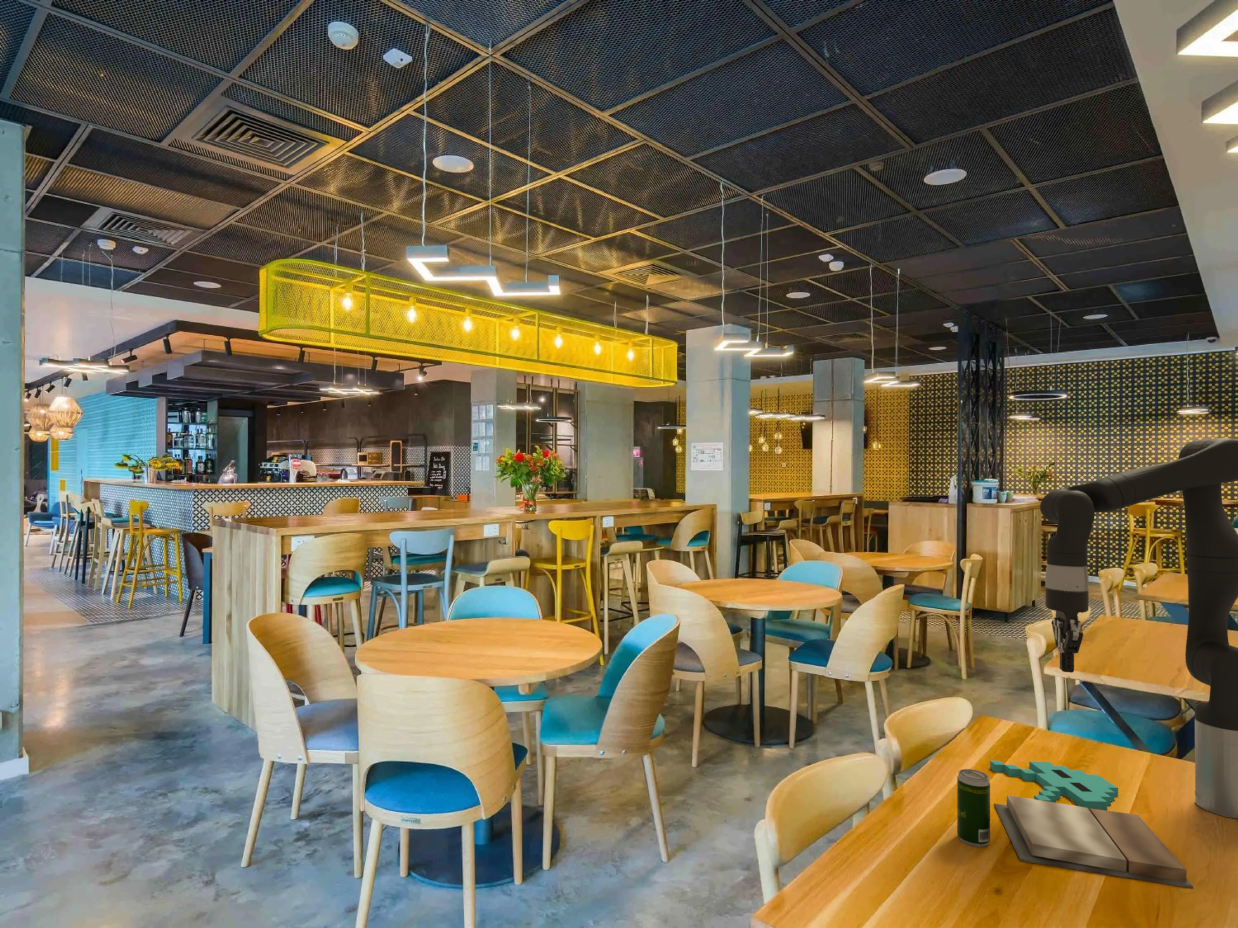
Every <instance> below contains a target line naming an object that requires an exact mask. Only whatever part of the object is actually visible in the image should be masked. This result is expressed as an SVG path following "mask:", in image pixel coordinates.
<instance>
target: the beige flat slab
mask: <svg viewBox="0 0 1238 928" xmlns="http://www.w3.org/2000/svg"><path fill="white" fill-rule="evenodd" d="M1006 805H1007V807H1008V809H1009V811H1010V813H1011V815H1012V817H1013V819H1014V821H1015V823H1016V825H1017V827H1018V829H1019V831H1020V833H1021V835H1022V837H1023V839H1024V841H1025V843H1026V845H1027V847H1028V849H1029V850H1030V852H1031V854H1032V855H1034V856H1039V857H1045V858H1051V859H1056V860H1062V861H1067V862H1073V863H1078V864H1084V865H1089V866H1095V867H1101V868H1106V869H1112V870H1117V871H1123V872H1126V859H1125V857H1124V856H1123V855H1122V853H1121V852H1120V851H1119V849H1118V848H1117V847H1116V845H1115V844H1114V843H1113V841H1112V840H1111V839H1110V837H1109V836H1108V835H1107V833H1106V832H1105V831H1104V829H1103V828H1102V827H1101V825H1100V824H1099V823H1098V821H1097V820H1096V819H1095V817H1094V816H1093V815H1092V813H1091V812H1090V810H1089V809H1088V808H1086V807H1080V806H1079V805H1072V804H1066V803H1058V802H1056V803H1054V802H1048V801H1042V800H1035V799H1034V798H1028V797H1022V796H1015V795H1009V794H1007V795H1006Z"/></svg>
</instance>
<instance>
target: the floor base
mask: <svg viewBox="0 0 1238 928" xmlns="http://www.w3.org/2000/svg"><path fill="white" fill-rule="evenodd" d="M993 806H994V808H995V810H996V812H997V815H998V817H999V819H1000V820H1001V823H1002V825H1003V827H1004V830H1005V832H1006V834H1007V835H1008V838H1009V841H1010V843H1011V844H1012V847H1013V848H1014V851H1015V854H1016V855H1017V858H1018V860H1019V861H1020V862H1026V863H1031V864H1032V863H1033V864H1039V865H1044V866H1051V867H1056V868H1063V869H1069V870H1076V871H1080V872H1081V871H1082V872H1089V873H1095V874H1101V875H1107V876H1114V877H1121V878H1127V879H1132V880H1137V881H1139V880H1140V881H1143V882H1145V881H1146V882H1150V883H1158V884H1164V885H1169V884H1170V886H1178V887H1182V888H1183V887H1184V888H1189V889H1193V888H1194V884H1192V883H1191V881H1190V880H1189V879H1188V878H1187V868H1185V866H1184V865H1183V864H1182V863H1181V861H1180V860H1179V859H1178V858H1177V857H1176V856H1175V855H1174V853H1173V852H1172V851H1171V850H1170V849H1169V848H1168V847H1167V846H1166V844H1165V843H1163V841H1162V840H1161V839H1160V838H1159V837H1158V836H1157V834H1155V832H1154V831H1153V830H1152V829H1151V828H1150V827H1149V826H1148V824H1147V823H1146V822H1145V821H1144V820H1143V819H1142V818H1141V816H1140V815H1139V814H1136V813H1135V814H1134V813H1128V812H1120V811H1111V810H1099V809H1091V808H1090V810H1089V811H1090V812H1091V813H1092V815H1093V816H1094V817H1095V819H1096V820H1097V821H1098V823H1099V824H1100V825H1101V827H1102V828H1103V829H1104V831H1105V832H1106V833H1107V835H1108V836H1109V837H1110V839H1111V840H1112V841H1113V843H1114V844H1115V845H1116V847H1117V848H1118V849H1119V851H1120V852H1121V853H1122V855H1123V856H1124V857H1125V859H1126V872H1123V871H1117V870H1112V869H1106V868H1101V867H1095V866H1089V865H1084V864H1078V863H1073V862H1067V861H1062V860H1056V859H1051V858H1045V857H1039V856H1034V855H1032V854H1031V852H1030V850H1029V849H1028V847H1027V845H1026V843H1025V841H1024V839H1023V837H1022V835H1021V833H1020V831H1019V829H1018V827H1017V825H1016V823H1015V821H1014V819H1013V817H1012V815H1011V813H1010V811H1009V809H1008V807H1007V804H1001V803H993Z"/></svg>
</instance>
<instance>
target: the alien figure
mask: <svg viewBox="0 0 1238 928" xmlns="http://www.w3.org/2000/svg"><path fill="white" fill-rule="evenodd" d="M989 768H991V769H990V770H992V771H993V772H994V771H995V772H994V773H1004V772H1005V774H1006V775H1008V777H1010V778H1011V777H1013V778H1017V777H1018V778H1021V779H1022V780H1024V781H1025V782H1037V783H1038V784H1039V785H1040V786H1041V787H1042V788H1043V790H1038V794H1034V795H1033V799H1035V800H1042V801H1048V802H1054V803H1057V800H1059V801H1060V800H1061V796H1065V797H1067V798H1068V799H1069V800H1071V801H1072V802H1073V803H1075V804H1076V806H1080V807H1086V808H1088V809H1089V811H1090V808H1091V809H1099V810H1106V811H1108V806H1111V807H1112V802H1115V799H1116V798H1115V797H1119V787H1118V786H1116V785H1115V784H1113V783H1111V782H1109V781H1108V780H1106V778H1103V777H1102V776H1100V775H1099V774H1090V773H1089V774H1087V773H1085V772H1084V771H1082V770H1080V769H1069V768H1068V767H1067V766H1065V765H1054V764H1053V763H1051V762H1050V761H1028V768H1020V767H1018V766H1017V765H1016V764H1005V763H1003V762H1002V761H1001V760H990V761H989Z"/></svg>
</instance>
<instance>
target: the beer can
mask: <svg viewBox="0 0 1238 928" xmlns="http://www.w3.org/2000/svg"><path fill="white" fill-rule="evenodd" d="M956 777H957V779H956V781H957V785H956V786H957V787H956V791H957V792H956V793H957V794H956V795H957V796H956V797H957V798H956V799H957V800H956V801H957V803H956V804H957V805H956V806H957V807H956V808H957V809H956V810H957V811H956V815H957V817H956V827H957V829H956V834H957V837H958V839H959V841H960V842H962V843H963V844H965V845H967V846H970V847H974V848H985V847H988V845H989V843H990V842H991V782H990V780H989V775H988V774H987V773H984V772H983V771H981V770H976V769H971V768H962V769H960V770H959V771H958V775H957V776H956Z"/></svg>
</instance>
